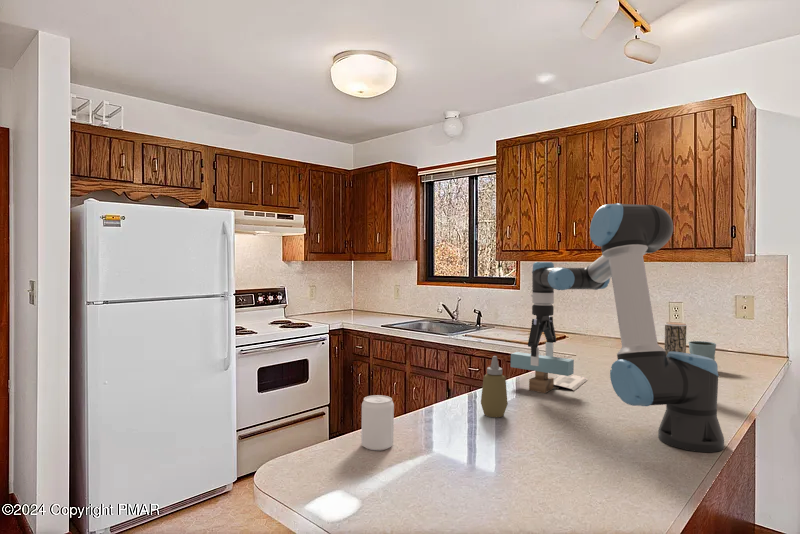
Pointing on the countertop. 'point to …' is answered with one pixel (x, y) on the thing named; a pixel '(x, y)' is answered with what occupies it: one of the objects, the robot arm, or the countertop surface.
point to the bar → (543, 364)
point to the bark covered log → (675, 337)
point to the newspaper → (569, 381)
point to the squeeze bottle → (494, 391)
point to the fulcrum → (541, 382)
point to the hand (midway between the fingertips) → (542, 362)
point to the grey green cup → (702, 349)
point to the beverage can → (377, 422)
